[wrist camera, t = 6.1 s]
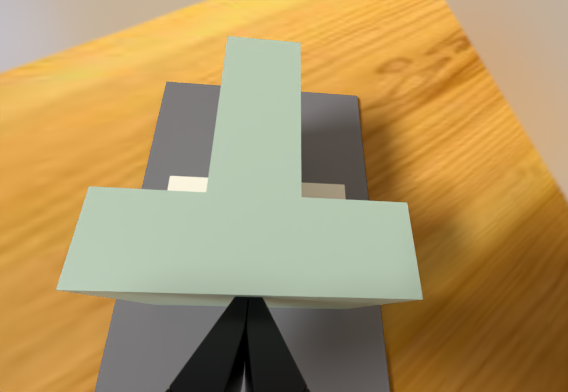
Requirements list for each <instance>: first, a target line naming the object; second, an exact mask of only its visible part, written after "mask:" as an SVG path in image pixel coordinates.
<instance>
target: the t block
mask: <svg viewBox="0 0 568 392" xmlns="http://www.w3.org/2000/svg"><path fill="white" fill-rule="evenodd" d="M56 290H59V291H66V292H73V293H79V294H86V295H93V296H99V297H106V298H113V299H120V300H126V301H133V302H140V303H146V304H153V305H186V306H228V305H229V304H230V302H231V301H232V300H233V298H234V297H248V298H249V297H263V299H264V301H265V303H266V305H267V307H273V308H317V309H350V308H358V307H366V306H374V305H383V304H391V303H399V302H407V301H415V300H423V296H422V290H421V284H420V277H419V271H418V265H417V259H416V253H415V247H414V241H413V235H412V229H411V223H410V217H409V211H408V204H407V203H405V202H386V201H366V200H346V199H327V198H307V197H301V50H300V43H298V42H287V41H276V40H265V39H253V38H242V37H231V36H228V37H227V45H226V52H225V59H224V67H223V74H222V81H221V88H220V96H219V103H218V110H217V117H216V125H215V132H214V139H213V146H212V154H211V161H210V168H209V175H208V183H207V190H206V192H189V191H169V190H150V189H130V188H110V187H91V186H89V188H88V191H87V194H86V197H85V201H84V204H83V207H82V210H81V213H80V216H79V219H78V223H77V226H76V229H75V232H74V235H73V238H72V241H71V245H70V248H69V251H68V254H67V257H66V260H65V263H64V267H63V270H62V273H61V276H60V279H59V282H58V285H57V289H56Z"/></svg>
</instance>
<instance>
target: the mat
mask: <svg viewBox="0 0 568 392" xmlns="http://www.w3.org/2000/svg"><path fill="white" fill-rule="evenodd" d="M220 88H221V86H217V85H204V84H191V83H177V82H166V86H165V91H164V95H163V99H162V104H161V108H160V112H159V117H158V121H157V125H156V129H155V134H154V138H153V142H152V147H151V151H150V155H149V160H148V164H147V168H146V172H145V177H144V181H143V185H142V189H150V190H169V191H189V192H206V190H207V183H208V175H209V168H210V161H211V154H212V146H213V139H214V132H215V125H216V117H217V110H218V103H219V96H220ZM301 197H307V198H327V199H346V200H366V201H369V198H368V189H367V180H366V171H365V162H364V153H363V144H362V135H361V126H360V117H359V108H358V99H357V96H351V95H338V94H324V93H311V92H301ZM227 307H228V306H186V305H153V304H146V303H140V302H133V301H126V300H120V299H116V302H115V306H114V310H113V315H112V319H111V323H110V327H109V332H108V336H107V340H106V345H105V349H104V353H103V358H102V362H101V366H100V371H99V375H98V379H97V383H96V388H95V392H165V391H166V390H167V389H168V388H169V386H170V384H171V383H172V382H173V380H174V379H175V378H176V376H177V375H178V373H179V372H180V371H181V369H182V368H183V367H184V365H185V364H186V363H187V361H188V360H189V358H190V357H191V356H192V354H193V353H194V352H195V350H196V349H197V348H198V346H199V345H200V343H201V342H202V341H203V339H204V338H205V337H206V335H207V334H208V333H209V331H210V330H211V328H212V327H213V326H214V324H215V323H216V322H217V320H218V319H219V317H220V316H221V315H222V313H223V312H224V311H225V309H226V308H227ZM268 309H269V311H270V313H271V315H272V317H273V319H274V321H275V323H276V325H277V326H278V328H279V330H280V332H281V334H282V336H283V338H284V340H285V342H286V344H287V346H288V348H289V350H290V352H291V354H292V356H293V358H294V360H295V362H296V364H297V366H298V368H299V370H300V372H301V374H302V376H303V378H304V380H305V382H306V384H307V388H308V389H309V390H310V392H390V387H389V378H388V369H387V360H386V351H385V342H384V333H383V324H382V315H381V306H380V305H374V306H366V307H358V308H350V309H317V308H273V307H268ZM241 392H245V369H244V377H243V384H242V389H241Z"/></svg>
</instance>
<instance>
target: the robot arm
mask: <svg viewBox="0 0 568 392" xmlns="http://www.w3.org/2000/svg"><path fill="white" fill-rule="evenodd" d="M244 369H245V392H310V390H309V389H308V388H307V384H306V382H305V380H304V378H303V376H302V374H301V372H300V370H299V368H298V366H297V364H296V362H295V360H294V358H293V356H292V354H291V352H290V350H289V348H288V346H287V344H286V342H285V340H284V338H283V336H282V334H281V332H280V330H279V328H278V326H277V325H276V323H275V321H274V319H273V317H272V315H271V313H270V311H269V309H268V307H267V305H266V303H265V301H264V299H263V297H249V298H248V297H234V298H233V300H232V301H231V302H230V304H229V305H228V307H227V308H226V309H225V311H224V312H223V313H222V315H221V316H220V317H219V319H218V320H217V322H216V323H215V324H214V326H213V327H212V328H211V330H210V331H209V333H208V334H207V335H206V337H205V338H204V339H203V341H202V342H201V343H200V345H199V346H198V348H197V349H196V350H195V352H194V353H193V354H192V356H191V357H190V358H189V360H188V361H187V363H186V364H185V365H184V367H183V368H182V369H181V371H180V372H179V373H178V375H177V376H176V378H175V379H174V380H173V382H172V383H171V384H170V386H169V388H168V389H167V390H166V391H165V392H241V389H242V384H243V377H244Z"/></svg>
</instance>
